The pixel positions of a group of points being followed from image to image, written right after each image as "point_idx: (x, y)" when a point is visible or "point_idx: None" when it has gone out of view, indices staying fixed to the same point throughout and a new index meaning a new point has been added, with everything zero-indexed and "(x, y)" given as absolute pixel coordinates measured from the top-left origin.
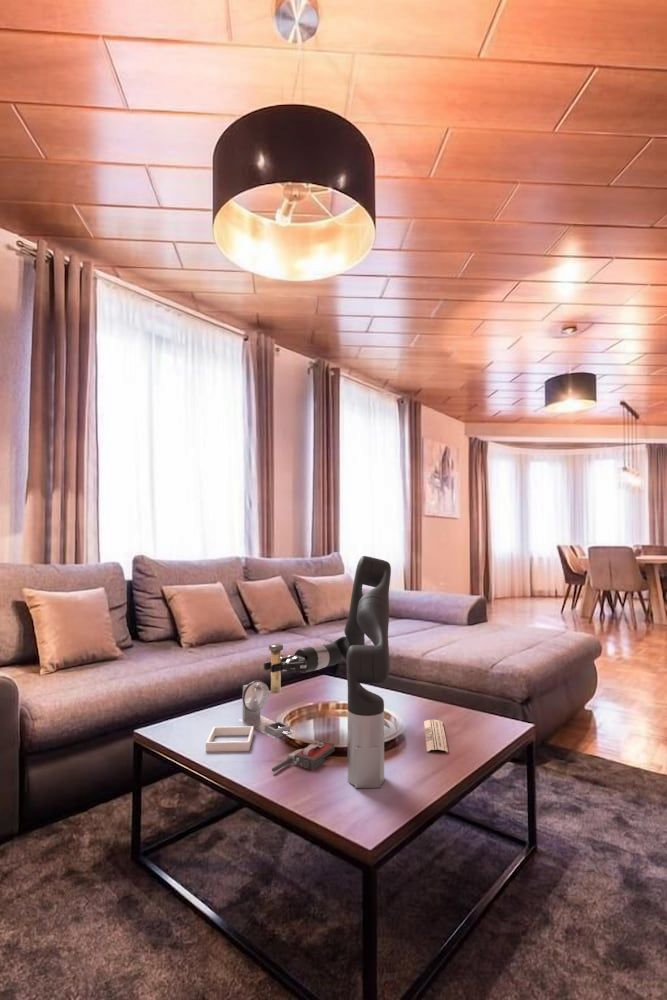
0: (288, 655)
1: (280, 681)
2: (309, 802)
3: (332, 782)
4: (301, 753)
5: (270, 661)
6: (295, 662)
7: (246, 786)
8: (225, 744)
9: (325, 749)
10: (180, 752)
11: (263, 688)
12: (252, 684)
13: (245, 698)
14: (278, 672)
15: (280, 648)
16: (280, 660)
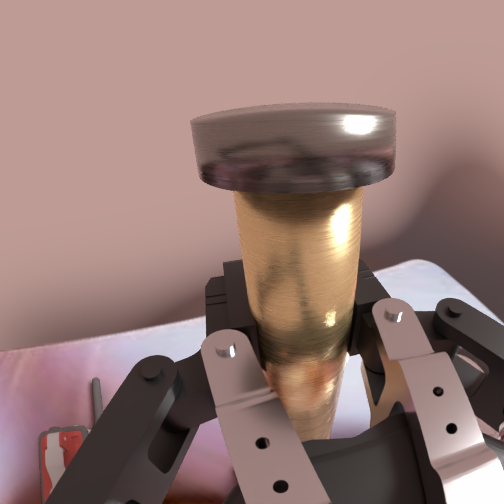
0: (487, 453)
1: None
2: (9, 371)
3: (4, 430)
4: (71, 436)
5: (357, 275)
6: (125, 451)
7: (104, 336)
8: None
9: (45, 488)
10: None
11: (479, 425)
12: (466, 360)
13: None
14: None
15: (194, 147)
16: (262, 308)
